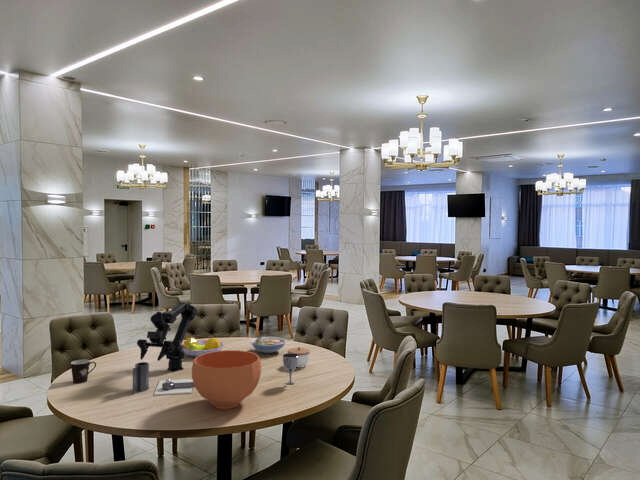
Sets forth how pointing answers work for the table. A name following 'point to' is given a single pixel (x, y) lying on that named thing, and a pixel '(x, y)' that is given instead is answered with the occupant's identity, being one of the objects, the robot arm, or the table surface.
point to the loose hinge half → (141, 377)
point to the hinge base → (174, 387)
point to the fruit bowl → (201, 346)
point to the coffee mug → (80, 370)
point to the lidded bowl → (301, 355)
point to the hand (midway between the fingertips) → (149, 359)
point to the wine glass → (290, 364)
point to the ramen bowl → (268, 344)
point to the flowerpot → (226, 376)
